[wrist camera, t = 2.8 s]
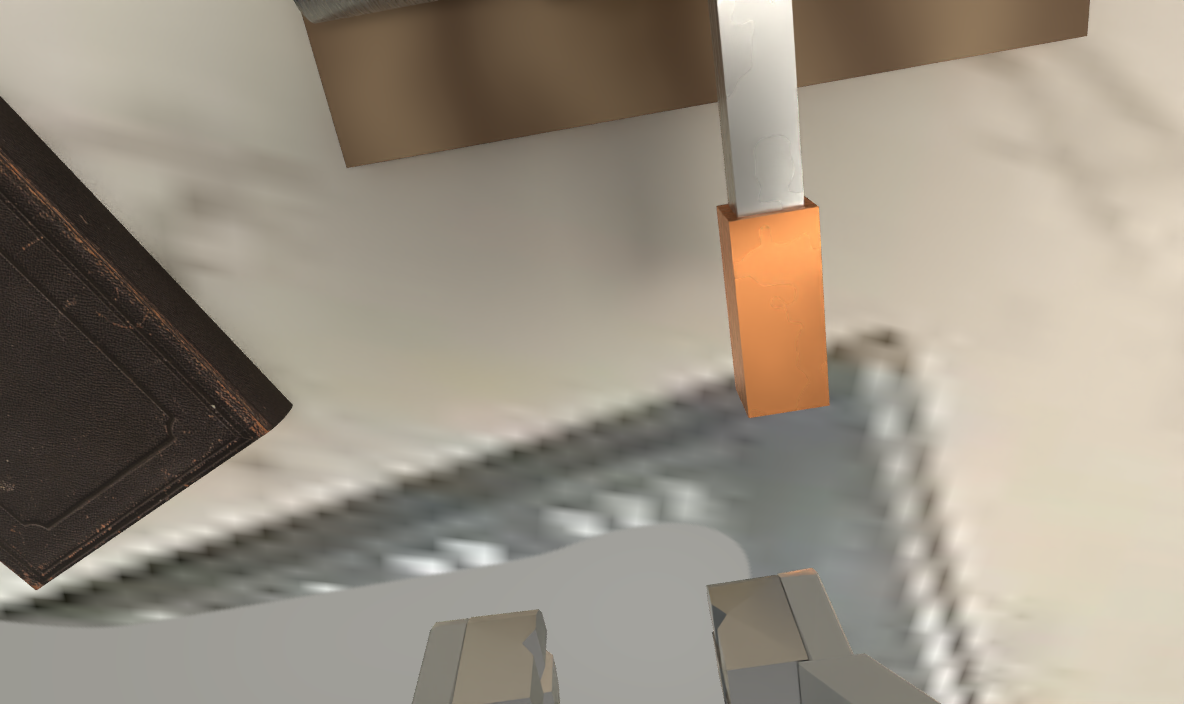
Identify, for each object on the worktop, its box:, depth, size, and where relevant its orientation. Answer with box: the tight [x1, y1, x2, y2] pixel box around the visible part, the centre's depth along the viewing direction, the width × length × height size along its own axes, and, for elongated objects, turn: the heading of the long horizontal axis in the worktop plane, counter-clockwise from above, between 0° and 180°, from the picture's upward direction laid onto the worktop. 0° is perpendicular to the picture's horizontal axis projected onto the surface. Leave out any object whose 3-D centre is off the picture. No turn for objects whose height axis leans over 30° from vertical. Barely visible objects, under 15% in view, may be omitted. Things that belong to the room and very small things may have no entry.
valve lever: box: [708, 0, 829, 418], centre depth 20 cm, size 17×3×2 cm, turn 10°
